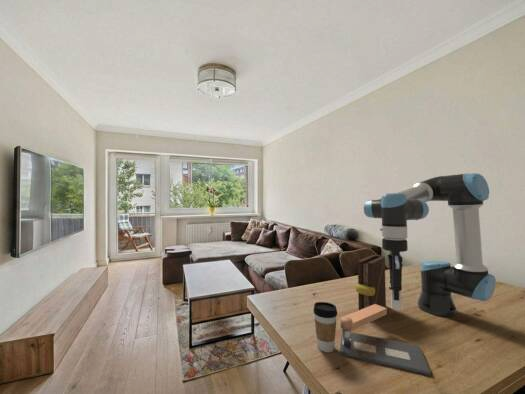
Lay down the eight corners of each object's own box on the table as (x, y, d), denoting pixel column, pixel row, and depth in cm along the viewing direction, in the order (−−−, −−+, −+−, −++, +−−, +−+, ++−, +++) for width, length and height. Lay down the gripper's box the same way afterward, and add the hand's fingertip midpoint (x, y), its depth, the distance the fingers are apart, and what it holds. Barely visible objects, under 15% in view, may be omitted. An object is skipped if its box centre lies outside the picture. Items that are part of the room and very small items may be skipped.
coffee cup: (310, 340, 88) (310, 300, 88) (332, 339, 88) (331, 299, 89) (318, 355, 79) (317, 311, 80) (341, 353, 80) (341, 309, 80)
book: (371, 301, 122) (370, 254, 123) (389, 306, 116) (388, 256, 117) (353, 316, 107) (352, 261, 107) (372, 323, 101) (371, 265, 101)
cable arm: (375, 309, 98) (375, 302, 98) (386, 314, 94) (386, 307, 94) (337, 325, 85) (336, 318, 85) (348, 332, 81) (348, 323, 81)
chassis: (419, 348, 82) (418, 330, 83) (430, 375, 70) (429, 353, 70) (342, 333, 92) (342, 316, 93) (339, 354, 80) (339, 335, 80)
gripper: (380, 235, 86) (381, 299, 86) (383, 240, 74) (385, 315, 74) (403, 236, 83) (405, 302, 83) (411, 242, 71) (413, 319, 71)
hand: (396, 308), depth 78 cm, fingers closed
